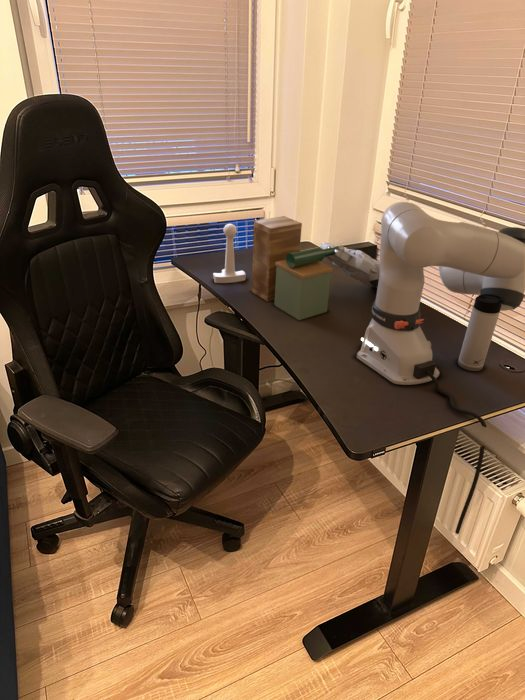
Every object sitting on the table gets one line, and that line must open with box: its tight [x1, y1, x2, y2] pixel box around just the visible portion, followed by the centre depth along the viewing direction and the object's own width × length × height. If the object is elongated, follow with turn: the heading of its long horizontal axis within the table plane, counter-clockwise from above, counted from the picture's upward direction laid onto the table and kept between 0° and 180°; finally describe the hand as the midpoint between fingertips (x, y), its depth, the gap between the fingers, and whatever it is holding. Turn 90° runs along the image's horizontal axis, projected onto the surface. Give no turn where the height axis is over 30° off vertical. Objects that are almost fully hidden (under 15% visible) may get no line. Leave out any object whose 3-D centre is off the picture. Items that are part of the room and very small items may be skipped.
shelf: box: [251, 215, 303, 302], centre depth 163 cm, size 9×12×24 cm
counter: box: [273, 260, 334, 321], centre depth 156 cm, size 13×12×14 cm
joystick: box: [212, 223, 247, 284], centre depth 174 cm, size 11×8×20 cm
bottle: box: [286, 244, 346, 268], centre depth 154 cm, size 20×4×4 cm, turn 125°
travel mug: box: [457, 294, 505, 372], centre depth 128 cm, size 6×7×20 cm
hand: (331, 250), depth 156 cm, fingers closed on bottle, 2 cm apart
